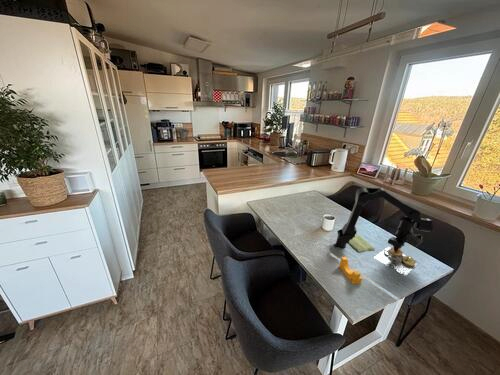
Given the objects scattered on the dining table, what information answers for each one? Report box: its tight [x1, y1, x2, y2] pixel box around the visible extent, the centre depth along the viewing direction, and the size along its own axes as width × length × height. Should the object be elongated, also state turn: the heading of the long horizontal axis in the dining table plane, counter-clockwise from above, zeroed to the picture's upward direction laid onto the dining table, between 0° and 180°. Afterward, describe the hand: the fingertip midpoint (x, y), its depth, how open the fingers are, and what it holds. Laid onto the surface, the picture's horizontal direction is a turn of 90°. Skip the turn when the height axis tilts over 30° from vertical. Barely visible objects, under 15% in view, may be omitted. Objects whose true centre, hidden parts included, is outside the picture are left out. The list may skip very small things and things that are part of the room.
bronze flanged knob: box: [390, 247, 404, 257], centre depth 115 cm, size 6×6×6 cm
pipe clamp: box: [338, 256, 363, 285], centre depth 104 cm, size 12×4×6 cm, turn 9°
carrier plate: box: [373, 246, 420, 277], centre depth 113 cm, size 18×16×5 cm
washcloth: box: [347, 233, 376, 254], centre depth 127 cm, size 13×18×3 cm
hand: (396, 250), depth 115 cm, fingers closed on bronze flanged knob, 3 cm apart
